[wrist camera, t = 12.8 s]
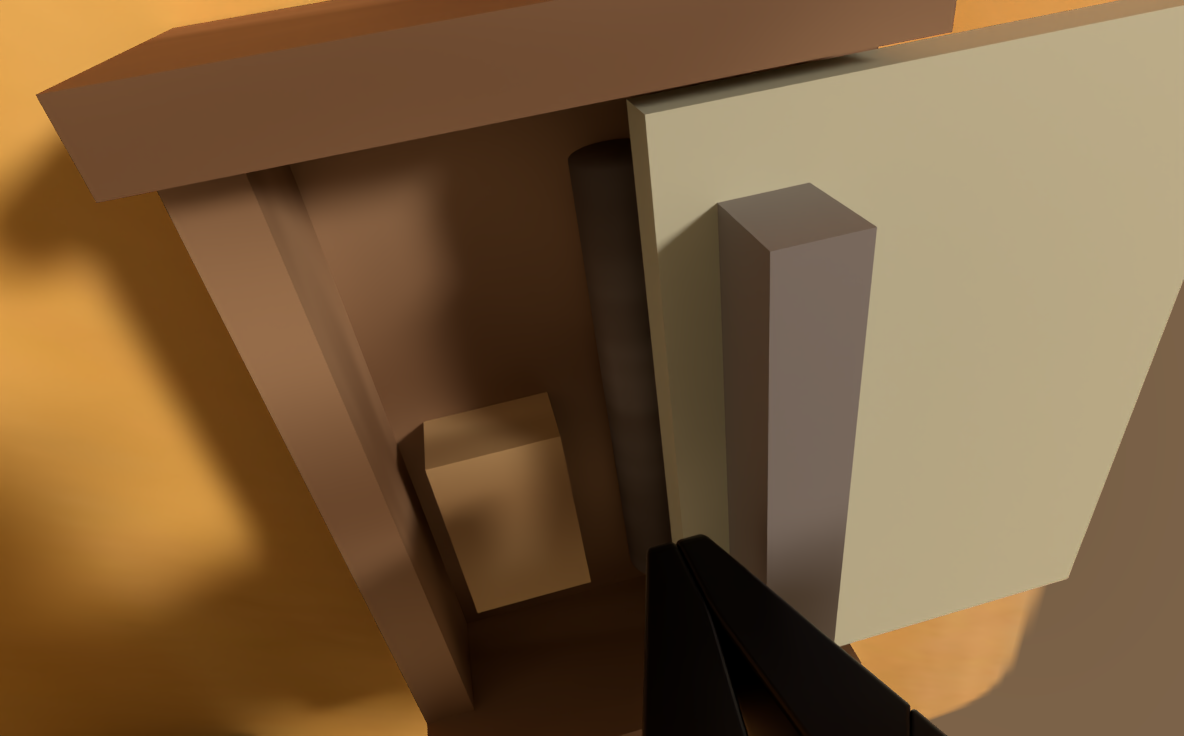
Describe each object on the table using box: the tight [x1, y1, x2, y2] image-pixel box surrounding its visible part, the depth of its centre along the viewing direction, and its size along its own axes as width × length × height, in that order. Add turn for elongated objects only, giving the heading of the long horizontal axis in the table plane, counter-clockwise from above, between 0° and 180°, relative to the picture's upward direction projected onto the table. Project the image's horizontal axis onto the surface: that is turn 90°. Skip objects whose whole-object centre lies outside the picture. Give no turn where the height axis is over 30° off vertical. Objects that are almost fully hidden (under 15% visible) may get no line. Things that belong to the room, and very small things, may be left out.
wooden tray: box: [36, 0, 957, 736], centre depth 12 cm, size 14×9×4 cm, turn 7°
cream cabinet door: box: [626, 0, 1184, 646], centre depth 11 cm, size 11×8×2 cm
